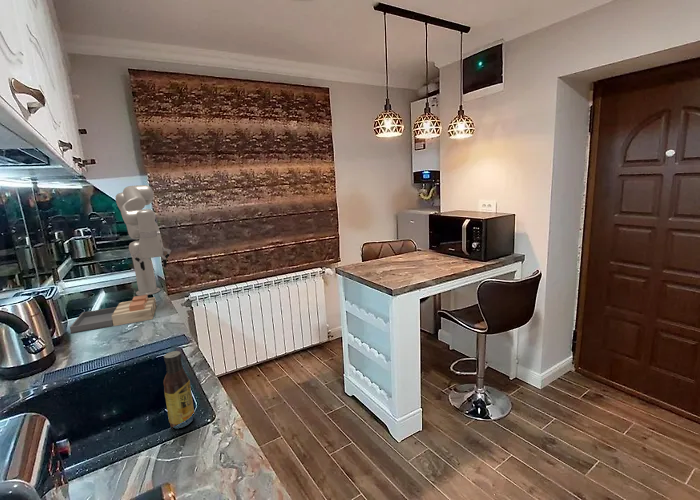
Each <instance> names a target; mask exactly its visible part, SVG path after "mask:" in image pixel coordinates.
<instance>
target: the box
mask: <svg viewBox="0 0 700 500" xmlns="http://www.w3.org/2000/svg"><path fill="white" fill-rule="evenodd" d="M116 308H117V306H115V307H108V308H101V309H96V310H89V311H85V312H83V311H82V312H81V314H80V315H79V316H77V318H76V319H75V321H73V323H72V324H71V325H70V326H69V331H70V334H77V333H83V332H87V331H93V330H98V329H103V328H111V327H114V325H113V320H112V314H113V313H114V311H115V310H116Z"/></svg>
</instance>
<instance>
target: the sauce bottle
mask: <svg viewBox="0 0 700 500" xmlns="http://www.w3.org/2000/svg"><path fill="white" fill-rule="evenodd" d="M163 360H164V363H165V368H166V369H165V371H166V374H165V376H164V379H163V390H164V398H165V404H166V410H167V417H168V423H169V424H170V428H172V427H174V426H176V425H178V424H180V423H182V422H184V421H186V420H187V419H189V418H190V417H191V416H192V414H193V413H194V414H195V408H194V401H193V396H192V388H191V387H192V386H191V380H190V377H189V376H188V374H187V373H186V371H185V370H184V366H183V364H182V363H183V361H182V352H181V351H178V350H173V351H170V352H167V353H165V354H164V355H163ZM172 429H173V428H172Z"/></svg>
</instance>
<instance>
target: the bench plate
mask: <svg viewBox="0 0 700 500" xmlns="http://www.w3.org/2000/svg"><path fill="white" fill-rule="evenodd" d="M130 303H132V300H128V301H122V302H119V303H118V304H117V306H116V307H117V308H116V310H115V311H114V313H113V314H112V320H113V327H116V326H121V325H126V324H134V323H137V322H138V323H139V322H143V321H149V320H153V318H154V315H155V312H156V308H157V300H156V296H153V297H148V301H147V303H145V304H146V306H145V308H144V309H142V310H136V311H130V310H129V305H130Z"/></svg>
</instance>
